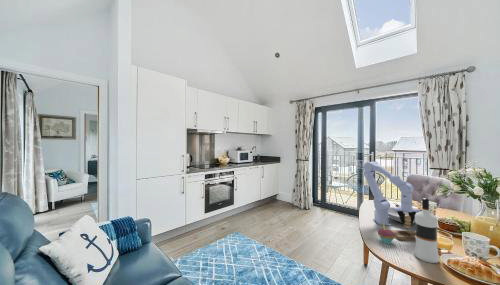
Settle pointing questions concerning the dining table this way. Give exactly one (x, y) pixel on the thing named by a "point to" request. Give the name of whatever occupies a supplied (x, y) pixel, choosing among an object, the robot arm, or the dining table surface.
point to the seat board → (400, 234)
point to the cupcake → (386, 235)
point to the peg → (407, 221)
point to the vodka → (426, 234)
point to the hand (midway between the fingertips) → (406, 222)
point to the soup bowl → (396, 214)
